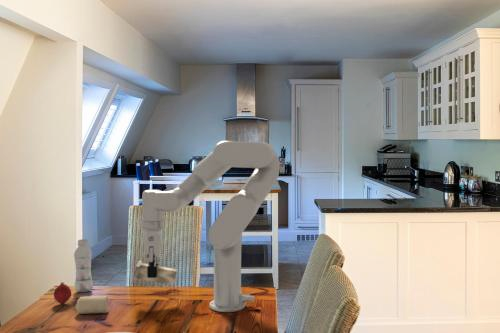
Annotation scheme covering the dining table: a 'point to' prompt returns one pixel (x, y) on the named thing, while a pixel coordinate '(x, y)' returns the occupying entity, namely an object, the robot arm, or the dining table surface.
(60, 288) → the onion
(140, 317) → the dining table surface
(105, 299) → the candle
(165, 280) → the cream upright plaque
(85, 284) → the plastic bottle
